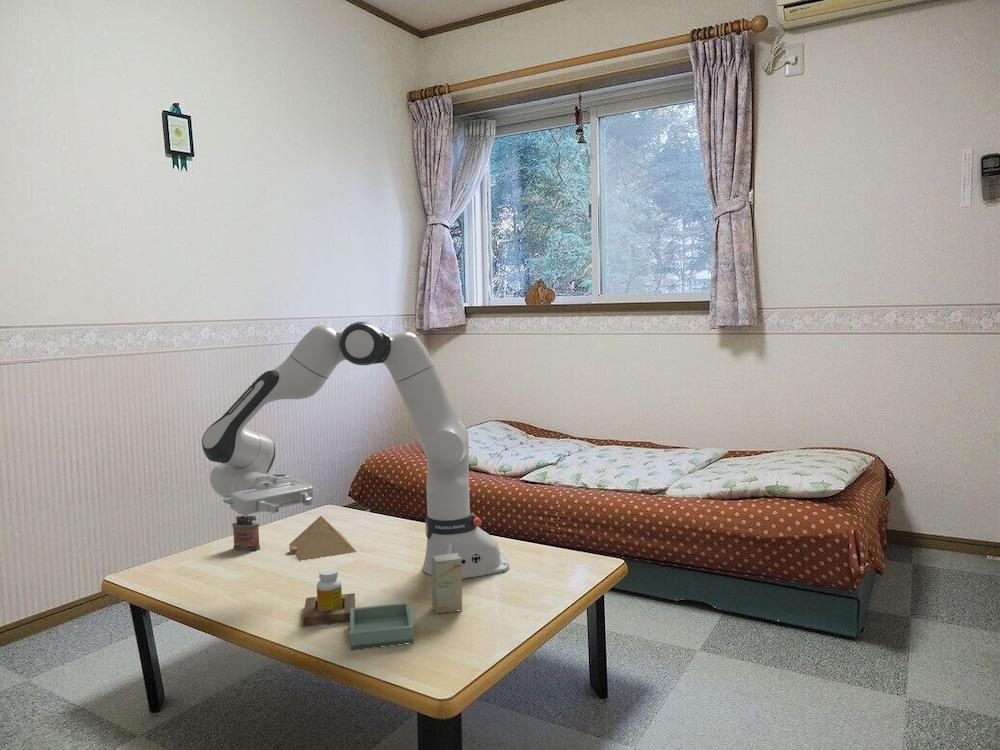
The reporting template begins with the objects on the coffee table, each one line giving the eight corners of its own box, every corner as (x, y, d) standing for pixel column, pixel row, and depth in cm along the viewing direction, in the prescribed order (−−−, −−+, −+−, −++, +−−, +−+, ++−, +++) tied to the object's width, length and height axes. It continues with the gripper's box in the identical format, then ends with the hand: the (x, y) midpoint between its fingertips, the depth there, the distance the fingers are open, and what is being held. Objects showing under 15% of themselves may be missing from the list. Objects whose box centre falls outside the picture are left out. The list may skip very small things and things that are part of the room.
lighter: (231, 550, 208) (229, 516, 207) (238, 546, 211) (236, 512, 210) (256, 551, 206) (254, 517, 205) (262, 547, 209) (260, 514, 208)
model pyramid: (285, 546, 212) (284, 512, 211) (344, 537, 219) (343, 504, 218) (295, 563, 197) (293, 527, 196) (358, 553, 204) (356, 518, 203)
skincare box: (435, 614, 161) (434, 561, 160) (431, 607, 165) (430, 555, 164) (463, 611, 162) (461, 558, 161) (458, 603, 167) (457, 552, 166)
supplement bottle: (336, 619, 159) (334, 576, 158) (313, 617, 160) (311, 575, 160) (346, 609, 165) (344, 568, 164) (324, 608, 166) (322, 566, 165)
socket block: (355, 601, 169) (354, 593, 169) (355, 621, 158) (354, 612, 158) (306, 606, 167) (306, 597, 167) (303, 626, 156) (302, 617, 156)
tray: (409, 617, 159) (408, 602, 159) (414, 643, 147) (413, 626, 147) (351, 623, 157) (350, 608, 157) (350, 650, 145) (350, 633, 144)
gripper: (219, 485, 168) (255, 500, 160) (292, 473, 184) (328, 485, 176) (218, 512, 168) (253, 527, 160) (291, 497, 185) (326, 510, 177)
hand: (293, 505), depth 168 cm, fingers open, 8 cm apart
